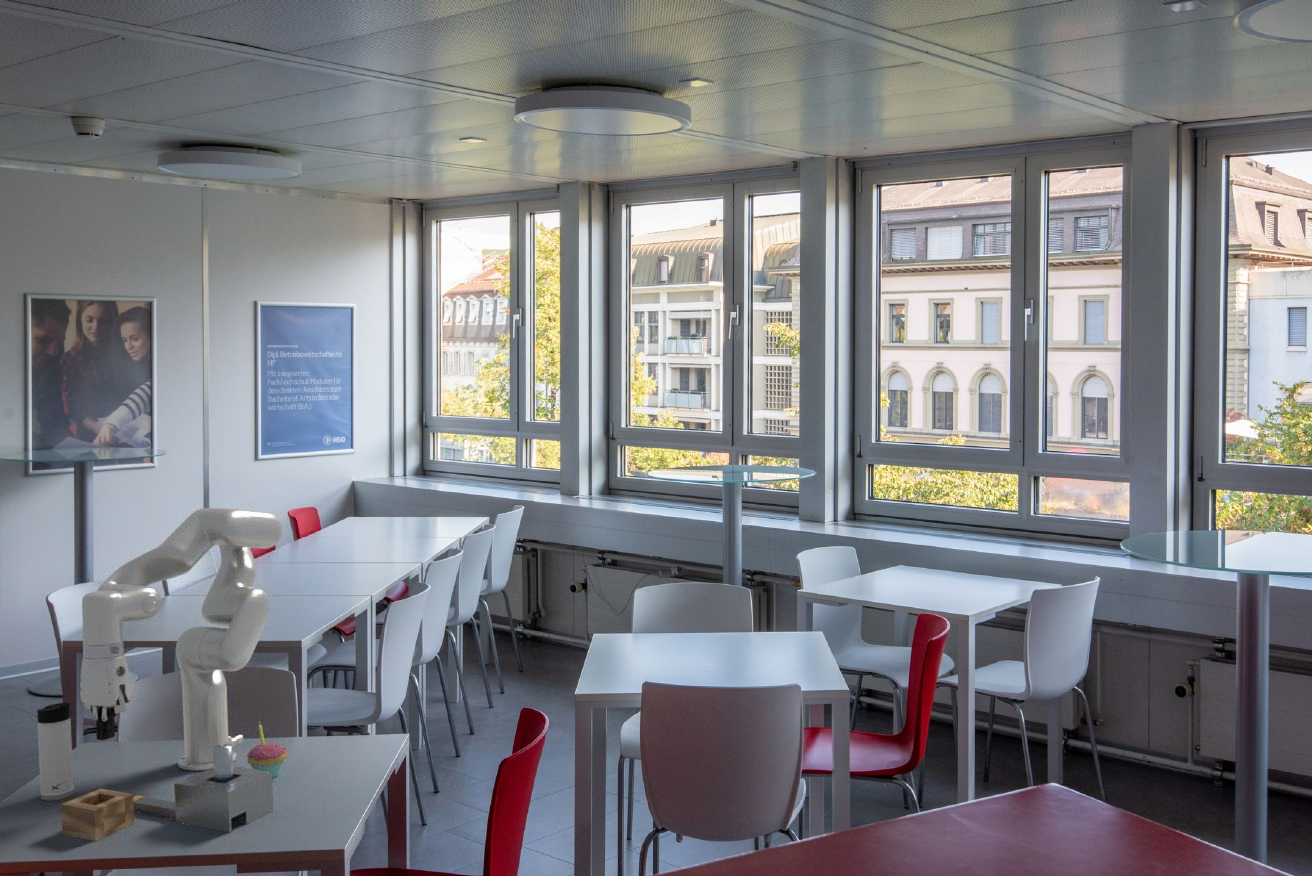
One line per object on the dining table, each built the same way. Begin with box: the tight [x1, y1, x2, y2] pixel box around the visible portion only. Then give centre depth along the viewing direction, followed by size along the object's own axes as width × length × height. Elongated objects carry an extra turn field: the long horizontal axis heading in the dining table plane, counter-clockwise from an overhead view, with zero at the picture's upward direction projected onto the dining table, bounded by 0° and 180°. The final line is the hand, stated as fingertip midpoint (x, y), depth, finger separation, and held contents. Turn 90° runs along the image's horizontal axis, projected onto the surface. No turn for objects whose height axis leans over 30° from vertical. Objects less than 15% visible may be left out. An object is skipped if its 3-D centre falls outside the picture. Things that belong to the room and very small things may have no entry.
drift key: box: [133, 795, 176, 820], centre depth 228 cm, size 3×16×2 cm, turn 67°
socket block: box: [174, 765, 274, 833], centre depth 226 cm, size 12×14×8 cm
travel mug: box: [36, 702, 75, 802], centre depth 239 cm, size 6×7×20 cm
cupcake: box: [246, 721, 289, 779], centre depth 250 cm, size 9×8×12 cm
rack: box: [61, 788, 135, 842], centre depth 221 cm, size 9×9×6 cm
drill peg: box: [213, 744, 234, 783], centre depth 226 cm, size 4×4×11 cm
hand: (105, 738), depth 233 cm, fingers closed
